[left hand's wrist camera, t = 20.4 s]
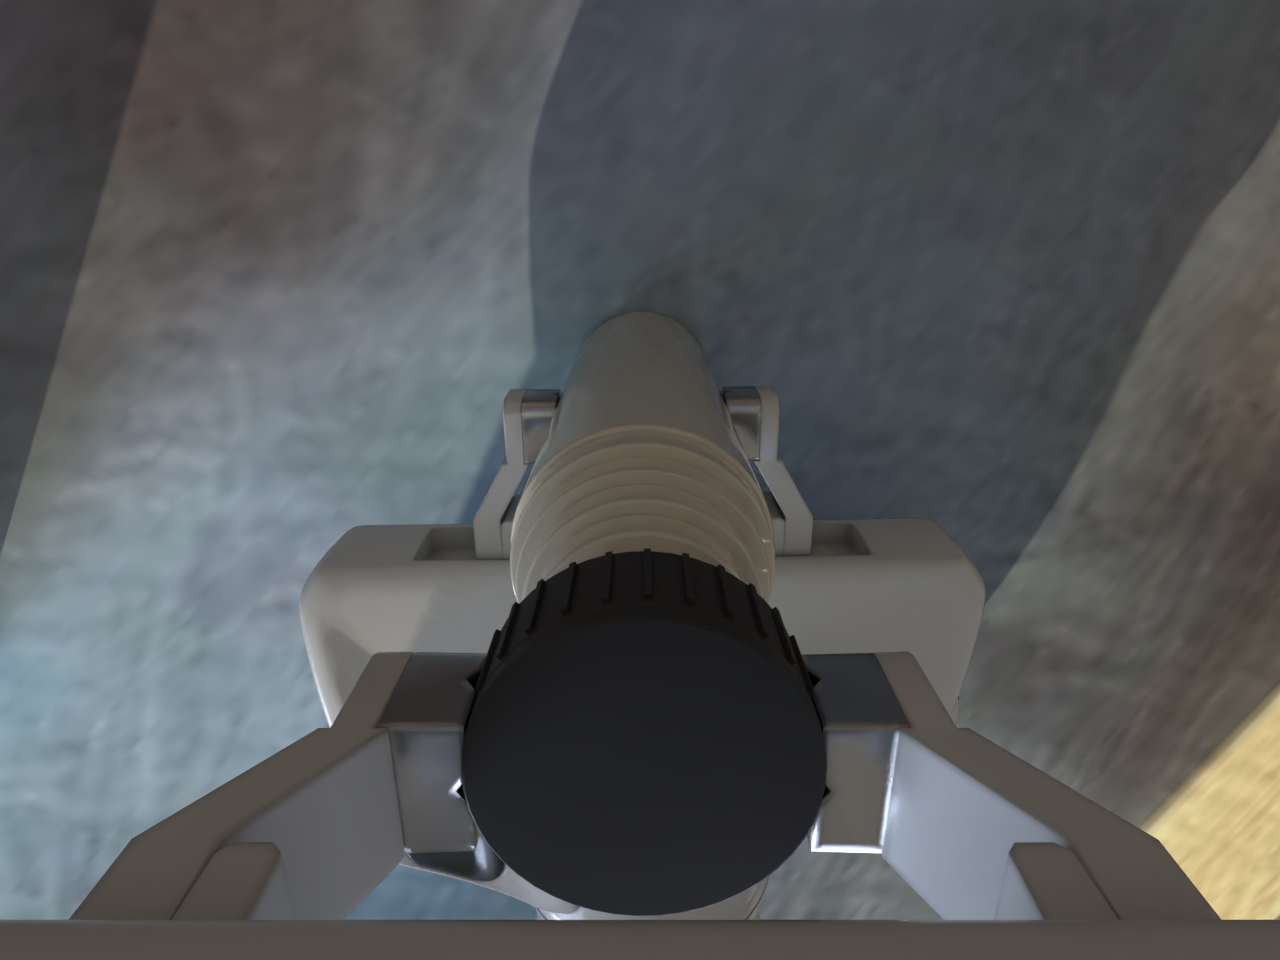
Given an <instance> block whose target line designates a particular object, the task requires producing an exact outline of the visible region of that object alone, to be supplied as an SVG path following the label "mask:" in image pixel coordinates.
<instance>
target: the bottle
mask: <svg viewBox="0 0 1280 960" xmlns="http://www.w3.org/2000/svg"><path fill="white" fill-rule="evenodd" d="M510 540H511V550H510V576H511V582H512V588H513V591H514V594H515V597H516V601H517V603H520V602H521V601H522V600H523V599H524V598H525V597H527V596H528V595H529V594H530V593H531V592H532V591H533V590H534V589H535V588H536V586H537V583H538V581H540V580H541V579H544V581H546V580H547V579H549V578H550V577H552V576H554V575H556V574H558V573H559V572H561V571H563V570H565V569H566V568H569V564H570V563H572V562H576V563H577V564H579V563H581V562H584V561H586V560H589V559H593V558H597V557H601V556H604V555H605V554H606V552H610V551H612V552H613V554H615V553H622V552H633V551H644V548H649V549H651V551H654V552H665V553H673V554H678V555H682V553H687V554H689V557H691V558H695V559H698V560H700V561H703V562H706V563H709V564H712V565H714V566H716V567H717V566H718V565H719V564H720V565H722V566H724V567H725V571H726V572H728V573H730V574H732V575H734V576H735V577H737V578H738V579H740V580H741V581H743V582H744V583H746V584H747V585H749V583H752V584H753V585H754V586H755V587H756V591H757V593H758V594H759V595H760V596H761V597H762V598H763V599H764V600H765V601H766V602H767V603H769V598H770V595H771V591H772V587H773V583H774V576H775V567H776V566H775V548H774V530H773V524H772V519H771V515H770V512H769V509H768V506H767V503H766V500H765V498H764V495H763V493H762V491H761V488H760V486H759V484H758V481H757V479H756V476H755V474H754V472H753V469H752V467H751V464H750V462H749V460H748V457H747V455H746V452H745V450H744V448H743V445H742V443H741V440H740V438H739V436H738V433H737V431H736V428H735V426H734V424H733V421H732V419H731V416H730V414H729V412H728V409H727V407H726V404H725V402H724V400H723V397H722V395H721V393H720V390H719V388H718V385H717V383H716V381H715V378H714V376H713V373H712V371H711V369H710V366H709V364H708V361H707V359H706V357H705V354H704V352H703V350H702V348H701V346H700V344H699V343H698V341H697V340H696V338H695V337H694V336H693V335H692V334H691V333H690V331H689V330H687V329H686V328H685V327H684V326H683V325H681V324H680V323H678V322H677V321H675V320H673V319H671V318H669V317H667V316H664V315H661V314H657V313H652V312H630V313H625V314H621V315H619V316H616V317H613V318H611V319H609V320H607V321H606V322H604V323H603V324H601V325H600V326H598V327H597V328H596V329H595V330H594V331H593V332H592V333H591V334H590V335H589V336H588V338H587V339H586V340H585V342H584V343H583V345H582V347H581V349H580V351H579V353H578V355H577V358H576V360H575V363H574V365H573V368H572V370H571V373H570V375H569V378H568V380H567V383H566V385H565V388H564V390H563V393H562V395H561V398H560V400H559V403H558V405H557V408H556V410H555V413H554V415H553V418H552V420H551V423H550V425H549V428H548V430H547V433H546V435H545V438H544V440H543V443H542V445H541V448H540V450H539V453H538V455H537V458H536V460H535V463H534V465H533V468H532V470H531V473H530V475H529V478H528V480H527V483H526V485H525V488H524V490H523V493H522V495H521V498H520V500H519V503H518V505H517V508H516V512H515V515H514V519H513V523H512V530H511V538H510Z"/></svg>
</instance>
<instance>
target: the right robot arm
mask: <svg viewBox="0 0 1280 960" xmlns="http://www.w3.org/2000/svg"><path fill="white" fill-rule="evenodd" d="M721 395H722V397H723V400H724V402H725V404H726V407H727V409H728V412H729V414H730V416H731V419H732V421H733V424H734V426H735V428H736V431H737V433H738V436H739V438H740V440H741V443H742V445H743V448H744V450H745V452H746V455H747V457H748V460H754V462H755V464H756V466H757V468H758V469H759V471H760V473H761V475H762V476H763V478H764V480H765V482H766V483H767V485H768V487H769V489H770V490H771V492H772V493H771V492H762V493H763V495H764V498H765V500H766V503H767V506H768V509H769V512H770V515H771V519H772V524H773V530H774V548H775V566H776V567H775V576H774V583H773V587H772V591H771V595H770V598H769V603H768V605H769V606H770V607H771V608H772V609H773V608H774V607H777V609H778V610H779V611H780V614H781V617H782V620H783V623H784V626H785V628H786V630H787V632H788V635H789V636H792V635H794V636H795V638H796V641H797V644H798V647H799V649H800V652H801V654H845V653H871V652H898V651H908V652H910V653H911V654H913V655H914V657H915V658H916V660H917V662H918V663H919V665H920V667H921V668H922V670H923V672H924V673H925V675H926V677H927V678H928V680H929V682H930V683H931V685H932V687H933V689H934V690H935V692H936V694H937V695H938V697H939V699H940V700H941V702H942V704H943V705H944V707H945V709H946V710H947V712H948V714H949V715H950V717H951V719H952V720H953V722H954V724H955V725H956V723H957V717H958V711H959V693H960V690H961V687H962V685H963V682H964V679H965V676H966V673H967V670H968V667H969V663H970V660H971V657H972V654H973V650H974V647H975V643H976V639H977V636H978V632H979V628H980V624H981V619H982V615H983V610H984V605H985V596H986V591H985V585H984V582H983V579H982V577H981V575H980V573H979V571H978V570H977V568H976V567H975V565H974V564H973V562H972V561H971V560H970V558H969V557H968V556H967V554H966V553H965V552H964V550H963V549H962V548H961V547H960V546H959V545H958V544H957V543H956V542H955V541H954V540H953V539H952V538H951V537H950V536H949V535H948V534H947V533H946V532H945V531H944V530H943V529H942V528H941V527H940V526H939V525H938V524H936V523H935V522H933V521H931V520H928V519H920V518H904V519H827V520H813V516H812V514H811V512H810V510H809V508H808V506H807V504H806V502H805V501H804V499H803V497H802V495H801V493H800V491H799V489H798V487H797V485H796V483H795V482H794V480H793V478H792V476H791V475H790V473H789V471H788V469H787V467H786V466H785V464H784V462H783V460H782V458H781V457H780V455H779V453H778V432H779V412H780V409H779V399H778V394H777V393H776V391H775V390H774V388H773V387H772V386H738V387H722V390H721ZM560 398H561V391H560V389H515V390H510V391H509V392H508V394H507V396H506V397H505V399H504V409H503V421H504V434H505V447H506V457H505V459H504V461H503V463H502V465H501V467H500V468H499V470H498V472H497V474H496V476H495V478H494V480H493V482H492V484H491V486H490V488H489V490H488V492H487V494H486V496H485V498H484V500H483V502H482V504H481V506H480V508H479V510H478V512H477V514H476V516H475V518H474V520H473V524H432V525H362V526H357V527H354V528H352V529H350V530H349V531H347V532H346V533H345V534H344V535H343V536H342V537H341V538H340V539H339V540H338V541H337V542H336V543H335V544H334V545H333V546H332V547H331V549H330V550H329V551H328V552H327V553H326V554H325V555H324V556H323V557H322V559H321V560H320V561H319V563H318V564H317V565H316V567H315V568H314V570H313V571H312V573H311V574H310V576H309V577H308V579H307V581H306V582H305V584H304V587H303V589H302V592H301V596H300V618H301V625H302V630H303V635H304V640H305V645H306V649H307V654H308V658H309V662H310V666H311V670H312V674H313V677H314V681H315V684H316V688H317V691H318V694H319V698H320V701H321V704H322V707H323V710H324V713H325V716H326V719H327V722H328V725H329V728H331V726H332V724H333V722H334V721H335V719H336V717H337V715H338V714H339V712H340V710H341V708H342V707H343V705H344V703H345V701H346V700H347V698H348V696H349V694H350V693H351V691H352V689H353V688H354V686H355V684H356V682H357V681H358V679H359V677H360V675H361V674H362V672H363V670H364V668H365V667H366V665H367V663H368V661H369V660H370V658H371V657H372V656H373V654H376V653H378V652H414V653H416V652H445V653H487V652H488V649H489V646H490V643H491V641H492V638H493V635H494V632H495V630H496V629H498V630H500V631H501V629H502V628H503V626H504V624H505V622H506V620H507V619H508V617H509V614H510V611H511V608H512V605H513V604H514V603H515V602H517V601H516V597H515V594H514V591H513V588H512V582H511V576H510V550H511V540H510V538H511V530H512V523H513V519H514V515H515V512H516V508H517V505H518V503H519V500H520V498H521V495H515V496H514V497H513V495H514V493H515V491H516V489H517V487H518V485H519V483H520V481H521V480H522V478H523V476H524V474H525V472H526V470H527V468H528V466H529V464H530V463H535V460H536V458H537V455H538V453H539V450H540V448H541V445H542V443H543V440H544V438H545V435H546V433H547V430H548V428H549V425H550V423H551V420H552V418H553V415H554V413H555V410H556V408H557V405H558V403H559V400H560ZM398 865H402V866H406V867H410V868H414V869H419V870H423V871H427V872H432V873H436V874H440V875H444V876H448V877H452V878H455V879H459V880H463V881H466V882H470V883H473V884H476V885H479V886H483V887H486V888H489V889H492V890H495V891H497V892H500V893H503V894H506V895H508V896H511V897H513V898H516V899H518V900H520V901H523V902H525V903H527V904H530V905H532V906H534V907H535V909H536V911H537V914H536V917H535V920H760V917H759V913H758V911H759V909H760V907H761V904H762V902H763V899H764V896H765V893H766V889H767V884H768V878H769V876H768V877H766V878H765V879H764V880H762V881H761V882H759V883H758V884H756V885H754V886H753V887H751V888H749V889H748V890H746V891H744V892H743V893H741V894H738V895H736V896H734V897H732V898H730V899H727V900H725V901H723V902H720V903H717V904H714V905H711V906H708V907H705V908H702V909H697V910H693V911H688V912H684V913H678V914H669V915H661V916H629V915H617V914H610V913H605V912H599V911H594V910H590V909H587V908H583V907H580V906H576V905H573V904H570V903H568V902H565V901H563V900H561V899H558V898H556V897H553V896H551V895H549V894H547V893H546V892H544V891H542V890H540V889H538V888H536V887H535V886H533V885H531V884H530V883H529V882H527V881H526V880H524V879H523V878H521V877H520V876H519V875H517V874H516V873H515V872H514V871H513V870H512V869H510V868H509V867H508V866H507V865H506V864H505V863H504V862H503V861H501V859H500V858H499V857H498V856H497V855H496V854H495V852H494V851H493V850H492V849H491V848H490V847H489V845H488V844H487V842H486V841H485V839H484V838H483V836H482V835H481V833H480V836H479V840H478V843H477V847H476V851H461V852H426V853H405V858H404V859H403V860H402V861H401V862H400V863H399V864H398Z"/></svg>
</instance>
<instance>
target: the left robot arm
mask: <svg viewBox="0 0 1280 960" xmlns="http://www.w3.org/2000/svg"><path fill="white" fill-rule="evenodd" d="M486 655H487V653H445V652H416V653H414V652H378V653H376V654H373V656H372V657H371V658H370V660H369V661H368V663H367V665H366V667H365V668H364V670H363V672H362V674H361V675H360V677H359V679H358V681H357V682H356V684H355V686H354V688H353V689H352V691H351V693H350V694H349V696H348V698H347V700H346V701H345V703H344V705H343V707H342V708H341V710H340V712H339V714H338V715H337V717H336V719H335V721H334V722H333V724H332V726H331V728H318V729H316V730H315V731H313V732H311V733H310V734H308V735H306V736H305V737H303V738H301V739H300V740H298V741H296V742H294V743H293V744H291V745H289V746H288V747H286V748H284V749H283V750H281V751H279V752H278V753H276V754H274V755H273V756H271V757H269V758H267V759H266V760H264V761H262V762H261V763H259V764H257V765H256V766H254V767H252V768H251V769H249V770H247V771H246V772H244V773H242V774H240V775H239V776H237V777H235V778H234V779H232V780H230V781H229V782H227V783H225V784H224V785H222V786H220V787H219V788H217V789H215V790H213V791H212V792H210V793H208V794H207V795H205V796H203V797H202V798H200V799H198V800H197V801H195V802H193V803H192V804H190V805H188V806H187V807H185V808H183V809H181V810H180V811H178V812H176V813H175V814H173V815H171V816H170V817H168V818H166V819H165V820H163V821H161V822H160V823H158V824H156V825H154V826H153V827H151V828H149V829H148V830H146V831H144V832H143V833H141V834H139V835H138V836H136V837H134V838H133V839H131V841H130V842H129V843H128V845H127V846H126V847H125V848H124V850H123V851H122V852H121V853H120V855H119V856H118V857H117V859H116V860H115V861H114V862H113V864H112V865H111V866H110V868H109V869H108V870H107V871H106V873H105V874H104V875H103V877H102V878H101V879H100V880H99V882H98V883H97V884H96V886H95V887H94V888H93V889H92V891H91V892H90V893H89V894H88V896H87V897H86V898H85V900H84V901H83V902H82V903H81V905H80V906H79V907H78V909H77V910H76V911H75V912H74V914H73V915H72V916H71V918H70V919H69V920H0V960H1280V920H1221V919H1220V917H1219V916H1218V915H1217V914H1216V912H1215V911H1214V910H1213V909H1212V907H1211V906H1210V905H1209V903H1208V902H1207V901H1206V900H1205V898H1204V897H1203V896H1202V895H1201V893H1200V892H1199V891H1198V889H1197V888H1196V887H1195V886H1194V884H1193V883H1192V882H1191V881H1190V879H1189V878H1188V877H1187V876H1186V874H1185V873H1184V872H1183V870H1182V869H1181V868H1180V867H1179V865H1178V864H1177V863H1176V862H1175V860H1174V859H1173V858H1172V857H1171V855H1170V854H1169V853H1168V851H1167V850H1166V849H1165V848H1164V846H1163V845H1162V844H1161V843H1160V841H1159V840H1158V839H1156V838H1154V837H1152V836H1151V835H1149V834H1147V833H1146V832H1144V831H1142V830H1141V829H1139V828H1137V827H1135V826H1134V825H1132V824H1130V823H1129V822H1127V821H1125V820H1124V819H1122V818H1120V817H1119V816H1117V815H1115V814H1113V813H1112V812H1110V811H1108V810H1107V809H1105V808H1103V807H1102V806H1100V805H1098V804H1096V803H1095V802H1093V801H1091V800H1090V799H1088V798H1086V797H1085V796H1083V795H1081V794H1080V793H1078V792H1076V791H1074V790H1073V789H1071V788H1069V787H1068V786H1066V785H1064V784H1063V783H1061V782H1059V781H1057V780H1056V779H1054V778H1052V777H1051V776H1049V775H1047V774H1046V773H1044V772H1042V771H1041V770H1039V769H1037V768H1035V767H1034V766H1032V765H1030V764H1029V763H1027V762H1025V761H1024V760H1022V759H1020V758H1018V757H1017V756H1015V755H1013V754H1012V753H1010V752H1008V751H1007V750H1005V749H1003V748H1001V747H1000V746H998V745H996V744H995V743H993V742H991V741H990V740H988V739H986V738H985V737H983V736H981V735H979V734H978V733H976V732H974V731H973V730H971V729H969V728H957V727H956V725H955V724H954V722H953V720H952V719H951V717H950V715H949V714H948V712H947V710H946V709H945V707H944V705H943V704H942V702H941V700H940V699H939V697H938V695H937V694H936V692H935V690H934V689H933V687H932V685H931V683H930V682H929V680H928V678H927V677H926V675H925V673H924V672H923V670H922V668H921V667H920V665H919V663H918V662H917V660H916V658H915V657H914V655H913V654H911V653H910V652H908V651H898V652H871V653H845V654H801V655H802V658H803V661H804V663H805V666H806V669H807V672H808V675H809V678H810V680H811V683H812V686H813V689H814V692H815V694H814V695H811V699H812V702H813V705H814V708H815V711H816V713H817V716H818V719H819V722H820V725H821V729H822V733H823V737H824V740H825V745H826V756H827V775H826V785H825V789H824V794H823V798H822V802H821V805H820V808H819V810H818V813H817V815H816V818H815V820H814V823H813V824H812V826H811V828H810V830H809V831H808V833H807V837H808V841H809V844H810V848H811V851H824V852H860V853H882V855H881V857H882V858H883V859H884V860H885V861H886V862H887V863H888V864H889V865H890V866H891V867H892V868H893V869H894V870H895V871H896V872H897V873H898V874H899V875H900V876H901V877H902V878H903V879H904V880H905V881H906V882H907V883H908V884H909V885H910V886H911V887H912V888H913V889H914V890H915V891H916V892H917V893H918V894H919V895H920V896H921V897H922V898H923V899H924V900H925V901H926V902H927V903H928V904H929V905H930V906H931V907H932V908H933V909H934V910H935V911H936V912H937V913H938V914H939V915H940V916H941V917H942V918H943V919H944V920H344V919H345V918H346V917H347V916H348V915H349V914H350V913H351V912H352V911H353V910H354V909H355V908H356V907H357V906H358V905H359V904H360V903H361V902H362V901H363V900H364V899H365V898H366V897H367V896H368V895H369V894H370V893H371V892H372V891H373V889H374V888H375V887H376V886H377V885H378V884H379V883H380V882H381V881H382V880H383V879H384V878H385V877H386V876H387V875H388V874H389V873H390V872H391V871H392V870H393V869H394V868H395V867H396V866H397V865H398V864H399V863H400V862H401V861H402V860H403V859H404V858H405V853H426V852H461V851H476V847H477V843H478V840H479V836H480V832H479V830H478V829H477V826H476V824H475V822H474V820H473V818H472V816H471V813H470V811H469V808H468V805H467V801H466V798H465V794H464V791H463V783H462V775H461V756H462V747H463V742H464V737H465V732H466V729H467V726H468V723H469V720H470V714H471V711H472V709H473V706H474V703H475V700H476V691H475V690H474V689H475V686H476V684H477V681H478V678H479V676H480V673H481V670H482V667H483V664H484V661H485V658H486Z"/></svg>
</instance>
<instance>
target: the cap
mask: <svg viewBox="0 0 1280 960" xmlns="http://www.w3.org/2000/svg"><path fill="white" fill-rule="evenodd" d="M474 690H475V691H476V700H475V703H474V706H473V709H472V711H471V714H470V720H469V723H468V726H467V729H466V732H465V737H464V742H463V747H462V756H461V775H462V783H463V791H464V794H465V798H466V801H467V805H468V808H469V811H470V813H471V816H472V818H473V820H474V822H475V824H476V826H477V829H478V830H479V832H480V833H481V835H482V836H483V838H484V839H485V841H486V842H487V844H488V845H489V847H490V848H491V849H492V850H493V851H494V852H495V854H496V855H497V856H498V857H499V858H500V859H501V861H503V862H504V863H505V864H506V865H507V866H508V867H509V868H510V869H512V870H513V871H514V872H515V873H516V874H517V875H519V876H520V877H521V878H523V879H524V880H526V881H527V882H529V883H530V884H531V885H533V886H535V887H536V888H538V889H540V890H542V891H544V892H546V893H547V894H549V895H551V896H553V897H556V898H558V899H561V900H563V901H565V902H568V903H570V904H573V905H576V906H580V907H583V908H587V909H590V910H594V911H599V912H605V913H610V914H617V915H629V916H661V915H669V914H678V913H684V912H688V911H693V910H697V909H702V908H705V907H708V906H711V905H714V904H717V903H720V902H723V901H725V900H727V899H730V898H732V897H734V896H736V895H738V894H741V893H743V892H744V891H746V890H748V889H749V888H751V887H753V886H754V885H756V884H758V883H759V882H761V881H762V880H764V879H765V878H766V877H768V876H769V875H770V874H771V873H773V872H774V871H775V870H777V869H778V868H779V867H780V866H781V865H782V864H783V863H784V862H785V861H786V860H787V859H788V858H789V857H790V856H791V855H792V854H793V853H794V851H795V850H796V849H797V847H798V846H799V845H800V844H801V842H802V841H803V840H804V838H805V836H806V835H807V833H808V831H809V830H810V828H811V826H812V824H813V823H814V820H815V818H816V815H817V813H818V810H819V808H820V805H821V802H822V798H823V794H824V789H825V785H826V775H827V756H826V745H825V740H824V737H823V733H822V729H821V725H820V722H819V719H818V716H817V713H816V711H815V708H814V705H813V702H812V699H811V695H814V694H815V692H814V689H813V686H812V683H811V680H810V678H809V675H808V672H807V669H806V666H805V663H804V661H803V658H802V655H801V652H800V649H799V647H798V644H797V641H796V638H795V636H794V635H792V636H789V635H788V632H787V630H786V628H785V626H784V623H783V620H782V617H781V614H780V611H779V610H778V609H777V607H774V608H773V609H772V608H771V607H770V606H769V605H768V603H767V602H766V601H765V600H764V599H763V598H762V597H761V596H760V595H759V594H758V593H757V591H756V587H755V586H754V585H753V584H752V583H749V585H747V584H746V583H744V582H743V581H741V580H740V579H738V578H737V577H735V576H734V575H732V574H730V573H728V572H726V571H725V567H724V566H722V565H720V564H719V565H718V566H717V567H716V566H714V565H712V564H709V563H706V562H703V561H700V560H698V559H695V558H691V557H689V554H687V553H682V555H678V554H673V553H665V552H654V551H651V549H649V548H644V551H633V552H622V553H615V554H613V552H612V551H610V552H606V554H605V555H604V556H601V557H597V558H593V559H589V560H586V561H584V562H581V563H579V564H577V563H576V562H572V563H570V564H569V568H566V569H565V570H563V571H561V572H559V573H558V574H556V575H554V576H552V577H550V578H549V579H547V580H546V581H544V579H541V580H540V581H538V583H537V586H536V588H535V589H534V590H533V591H532V592H531V593H530V594H529V595H528V596H527V597H525V598H524V599H523V600H522V601H521V602H520V603H517V602H515V603H514V604H513V605H512V608H511V611H510V614H509V617H508V619H507V620H506V622H505V624H504V626H503V628H502V629H501V631H500V630H498V629H496V630H495V632H494V635H493V638H492V641H491V643H490V646H489V649H488V652H487V655H486V658H485V661H484V664H483V667H482V670H481V673H480V676H479V678H478V681H477V684H476V686H475V689H474Z"/></svg>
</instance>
